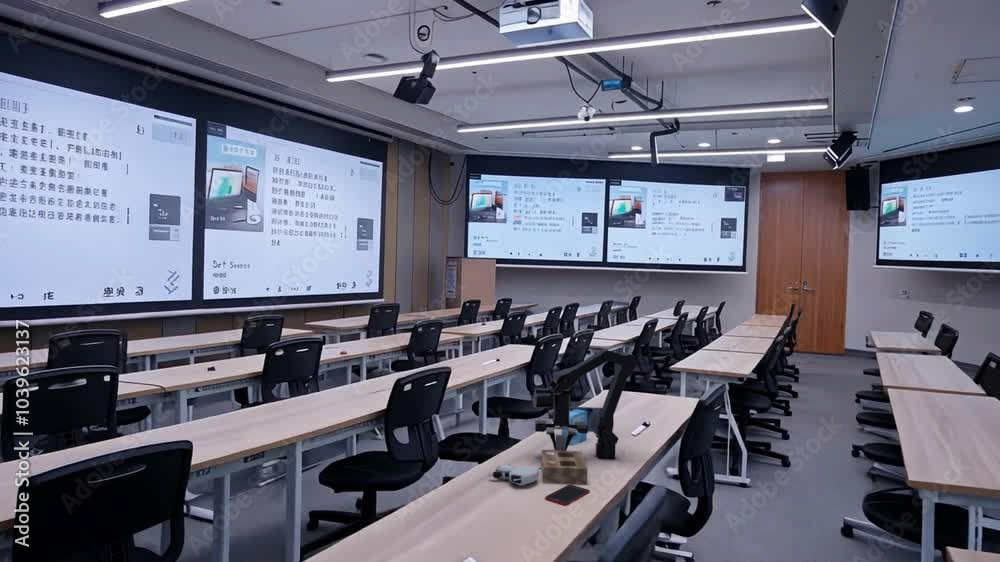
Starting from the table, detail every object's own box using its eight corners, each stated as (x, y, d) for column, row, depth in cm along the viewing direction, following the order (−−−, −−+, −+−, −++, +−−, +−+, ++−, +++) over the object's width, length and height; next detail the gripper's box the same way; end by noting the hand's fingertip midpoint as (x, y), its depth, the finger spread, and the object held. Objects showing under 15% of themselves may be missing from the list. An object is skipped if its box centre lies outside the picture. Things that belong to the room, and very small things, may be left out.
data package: (571, 446, 231) (571, 415, 230) (561, 444, 234) (562, 413, 233) (586, 440, 240) (587, 410, 240) (576, 437, 243) (577, 408, 243)
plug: (564, 456, 217) (565, 434, 217) (565, 459, 213) (565, 437, 213) (555, 456, 217) (555, 434, 217) (555, 459, 213) (556, 437, 213)
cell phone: (590, 493, 185) (590, 490, 185) (565, 507, 173) (565, 504, 173) (569, 486, 189) (569, 483, 189) (543, 500, 178) (543, 497, 178)
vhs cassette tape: (608, 430, 255) (608, 407, 255) (609, 432, 252) (609, 409, 252) (565, 429, 255) (565, 406, 255) (565, 431, 252) (566, 407, 252)
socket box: (581, 465, 209) (581, 450, 209) (587, 484, 191) (587, 467, 191) (541, 464, 209) (541, 449, 209) (543, 482, 191) (543, 466, 191)
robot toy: (485, 484, 192) (526, 491, 183) (485, 470, 192) (525, 476, 183) (506, 473, 202) (545, 479, 194) (505, 460, 202) (544, 465, 194)
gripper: (585, 403, 222) (583, 444, 223) (535, 401, 223) (533, 442, 223) (588, 410, 211) (587, 454, 212) (535, 408, 212) (534, 452, 212)
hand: (560, 450), depth 215 cm, fingers closed on plug, 3 cm apart
